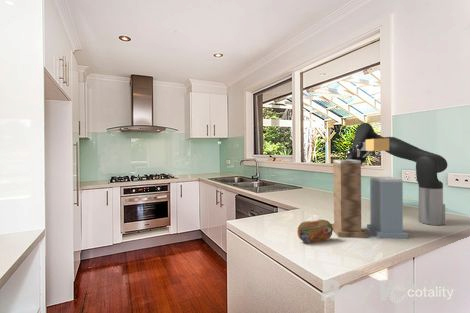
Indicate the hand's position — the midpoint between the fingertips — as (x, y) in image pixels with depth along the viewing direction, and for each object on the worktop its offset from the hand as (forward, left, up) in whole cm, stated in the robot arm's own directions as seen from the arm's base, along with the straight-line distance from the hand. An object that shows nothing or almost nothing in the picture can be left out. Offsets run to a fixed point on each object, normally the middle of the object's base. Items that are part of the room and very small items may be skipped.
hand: (367, 143), depth 113 cm
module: (0, +5, -3) cm, 6 cm away
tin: (+29, +21, -40) cm, 53 cm away
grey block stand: (-3, +10, -39) cm, 41 cm away
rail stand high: (+13, +10, -39) cm, 42 cm away
